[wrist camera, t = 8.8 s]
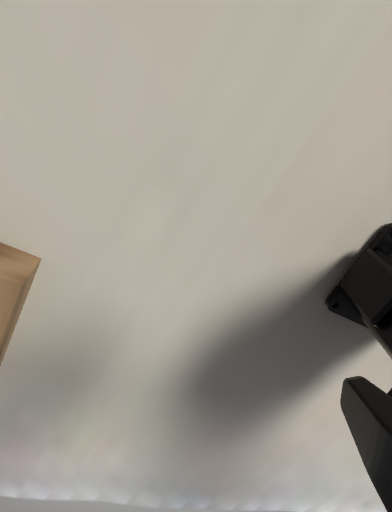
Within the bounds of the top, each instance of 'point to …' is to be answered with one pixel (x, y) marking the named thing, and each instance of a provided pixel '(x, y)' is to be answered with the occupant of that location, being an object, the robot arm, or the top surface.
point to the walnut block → (13, 289)
